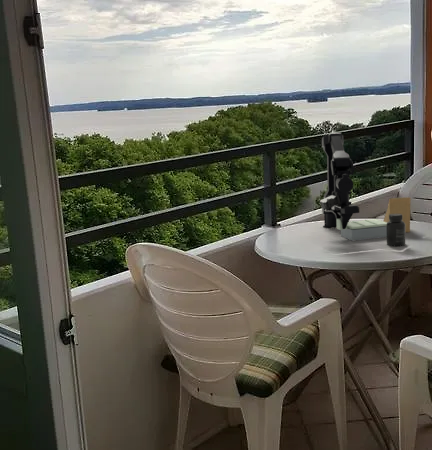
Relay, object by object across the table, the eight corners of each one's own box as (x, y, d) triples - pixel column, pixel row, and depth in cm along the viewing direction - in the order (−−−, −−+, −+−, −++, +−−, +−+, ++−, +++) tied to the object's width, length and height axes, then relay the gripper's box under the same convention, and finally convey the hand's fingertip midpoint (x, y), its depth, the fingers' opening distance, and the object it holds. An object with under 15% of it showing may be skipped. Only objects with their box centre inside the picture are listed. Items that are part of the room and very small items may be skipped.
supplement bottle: (405, 244, 243) (406, 212, 240) (404, 248, 236) (405, 216, 234) (387, 243, 245) (387, 212, 243) (385, 247, 238) (385, 216, 236)
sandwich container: (400, 226, 275) (400, 191, 273) (410, 233, 260) (411, 197, 258) (380, 227, 276) (380, 192, 273) (389, 234, 261) (389, 198, 258)
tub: (352, 242, 250) (351, 230, 249) (340, 237, 260) (340, 225, 259) (389, 238, 254) (389, 226, 253) (376, 233, 264) (376, 221, 263)
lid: (343, 231, 248) (343, 221, 248) (332, 227, 258) (332, 217, 257) (389, 226, 253) (389, 216, 252) (376, 222, 263) (376, 212, 262)
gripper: (312, 187, 258) (313, 225, 261) (332, 193, 240) (333, 234, 243) (338, 185, 260) (338, 223, 263) (360, 191, 242) (360, 231, 245)
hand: (342, 228), depth 254 cm, fingers closed on lid, 3 cm apart
